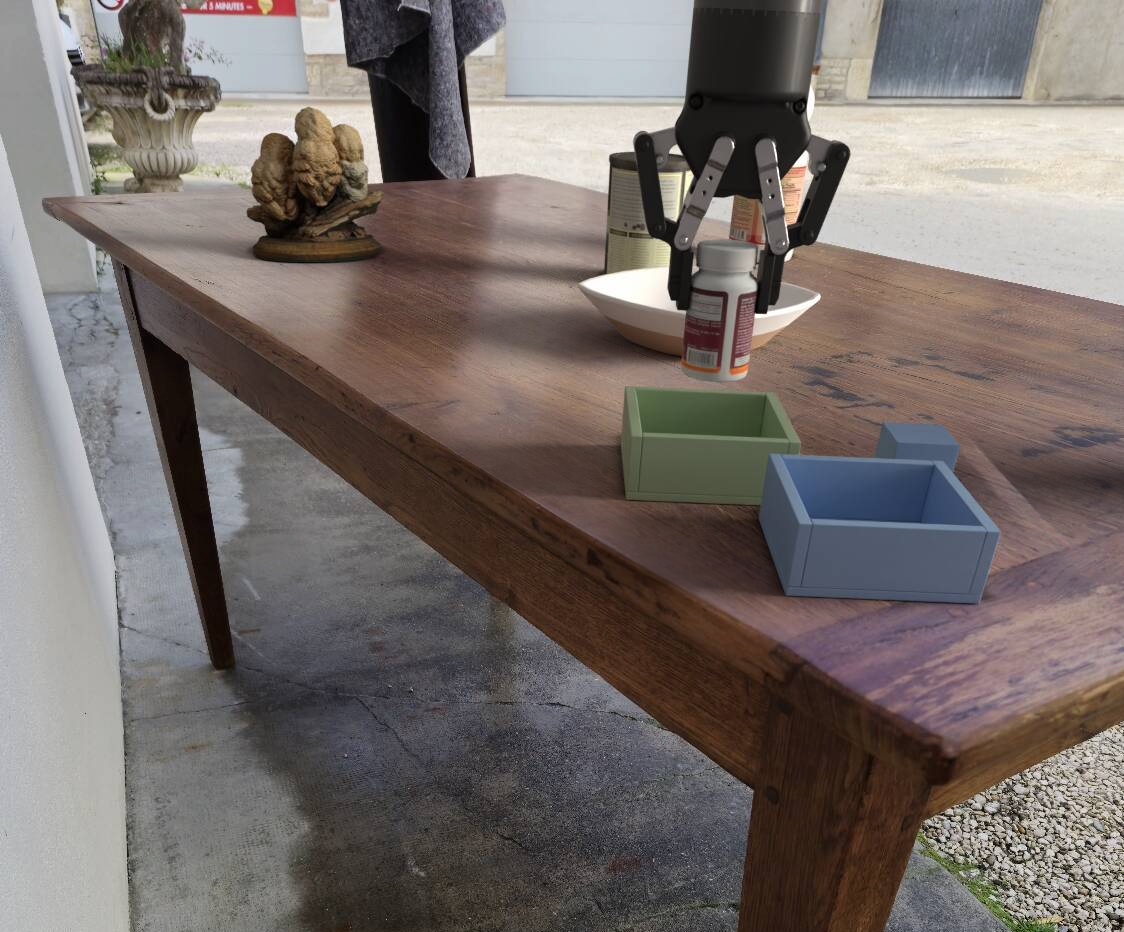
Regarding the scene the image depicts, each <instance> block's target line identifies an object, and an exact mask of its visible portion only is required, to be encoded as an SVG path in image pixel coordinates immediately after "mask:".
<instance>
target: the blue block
mask: <svg viewBox="0 0 1124 932" xmlns="http://www.w3.org/2000/svg"><path fill="white" fill-rule="evenodd" d="M960 448H961V444H960V443H959V441H958V440H957V439H956V438H955V437H954V436H953V435H952V434H951V433H950V431H949V430H948V429H947V428H946V427H945V426H944V424H933V423H913V422H911V423H910V422H890V421H889V422H888V421H886V422H885V421H882V423H881V426H880V432H879V437H878V442H877V446H876V451H875V455H874V458H882V459H905V460H929V461H943V462H944V463H945V464H946V465H947V466H948V468H949V469H950V470H951V471H952V473H953V474H954V470H955V467H956V464H957V463H956V462H957V459H958V455H959V451H960Z"/></svg>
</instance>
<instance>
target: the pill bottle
mask: <svg viewBox="0 0 1124 932" xmlns="http://www.w3.org/2000/svg"><path fill="white" fill-rule="evenodd" d="M757 255H758V246H757V245H756V244H754V243H750V242H746V241H739V240H729V238H728V239H727V238H726V239H724V238H722V239H719V238H717V239H705V240H701V241H699V242H698V243H697V249H696V258H695V266H697V267H698V268H699V270H698V271H697V272H695V273H694V274H693V275H692V277H691V287H690V296H689V306H688V311H686V318H685V328H684V339H683V350H682V357H681V363H680V369H681V372H682V373H683V374H684V375H685V376H686V377H688V378H691V379H693V380H698V381H702V382H709V383H711V382H712V383H713V382H714V383H715V382H716V383H730V382H738V381H740V380H742V379H744V378H746V376H747V374H748V371H749V364H750V356H751V351H750V349H751V341H752V334H753V326H754V318H755V311H756V303H757V296H758V289H759V285H758V280H757V278H756V277H755V276H756V275H754V274H753V272H754V271H755V270H756V266H758V263H757Z"/></svg>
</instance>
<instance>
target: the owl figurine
mask: <svg viewBox="0 0 1124 932" xmlns="http://www.w3.org/2000/svg"><path fill="white" fill-rule="evenodd" d="M293 129H294V133H295V134H296V136H297V138H296V140H297V141H296V142H295V143H294V141H293V140H291V138H290V137H288V135H285V134H283V133H280V132H270V133H268V134H266V135H265V136H263V138H262V141H261V144H260V151H259V153H260V154H259V156H258V158H256V159H255V160H254V162H253V165H252V166H251V167H250V172H251V178H250V182H251V185H252V187H251V193H252V194H251V195H252V197H253V198H254V200H255V201H256V202H257V203H258V204H256V205H252V206H251V207H247V209H246V216H247V218H248V219H249V220H251V221H253V222H254V223H260V224H262V225H263V227H264V231H265V234H266V235H261V236H260V237H258V240H257V242H256V243H255V244H253V246H252V253H253V256H255V257H256V258H258V259H261V260H264V261H271V262H285V263H333V262H335V263H336V262H344V261H345V262H349V261H357V260H358V261H359V260H363V259H364V260H365V259H368V258H373V257H375V256H376V255H378V254H381V252H382V244H381V243H380V242H379V241H378V240H377V239H376V238H375V237H374V235H372V234H369V233H368V232H367V231H366V229H365V226H364V227H363V226H360V225H358V224H357V223H355V221H354V220H357V219H360V218H362V217H365V216H368V215H369V216H370V215H376V213H377V212H378V211H379V208H380V207H379V205H380V204H381V203H382V201H383V199H384V195H385V192H383V191H381V190H374V191H373V190H370V191H369V190H368V184H369V167H368V165H366V163H365V150H364V145H363V142H362V138H361V135H360V133H359V130H358V129H356V128H355V127H353V126H352V125H349V124H345V123H339V124H336V125H335V126H332V122H331V120H330V119H329V118H328V117H327V115H326V114H325V113H324V112H322V110H319V109H318V108H314V107H311V106H306V107H304V108H301V109H300V110H299V111H298V112H297V113H296V115H295V117H294V126H293Z"/></svg>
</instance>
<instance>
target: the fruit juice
mask: <svg viewBox="0 0 1124 932" xmlns="http://www.w3.org/2000/svg"><path fill="white" fill-rule="evenodd" d="M815 96H816V95H815V91H814V89H813V86H812V83H811V84H810V90H809V97H808V104H807V117H808V122H809V123H810V121H811V119H812V116H813V113H814V110H815V103H816V102H815V101H816V97H815ZM808 159H809V154H808V152H807V151H806V150H805V152H804V153H803V154H802V155H801V157H800V158H799V159H798V160H797V162H796V163H795V164H794V165H793V167H792V168H791V169H790V170H789V172H788V173H787V174H786V175H785V177H784V178H783V179H782V180H781V182H780V183H781V190H782V196H783V202H784V208H785V220H786V226H787V225H790V224H793V223H795V222H796V220H797V217H798V215H799V212H800V210H801V205H802V197H803V190H804V185H805V177H806V171H807V166H808ZM732 200H733V201H732V210H731V218H730V225H729V226H730V227H729V233H728V234H729V235H728V240H739V241H746V242H750V243H754V244H756V245H757V246H758V255H757V264H759V257H760V250H764V247H765V236H764V231H763V225H762V219H761V214H760V211H759V207H758V201H757V199H747V198H745V197H742V196H739V195H734V196H733V199H732ZM794 250H795V248H794V249H792V250H790V251H789V252H788V253H787V255H786V257H785V260H784V263H785V262H789V261H791V259H792V257H793V254H794Z"/></svg>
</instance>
